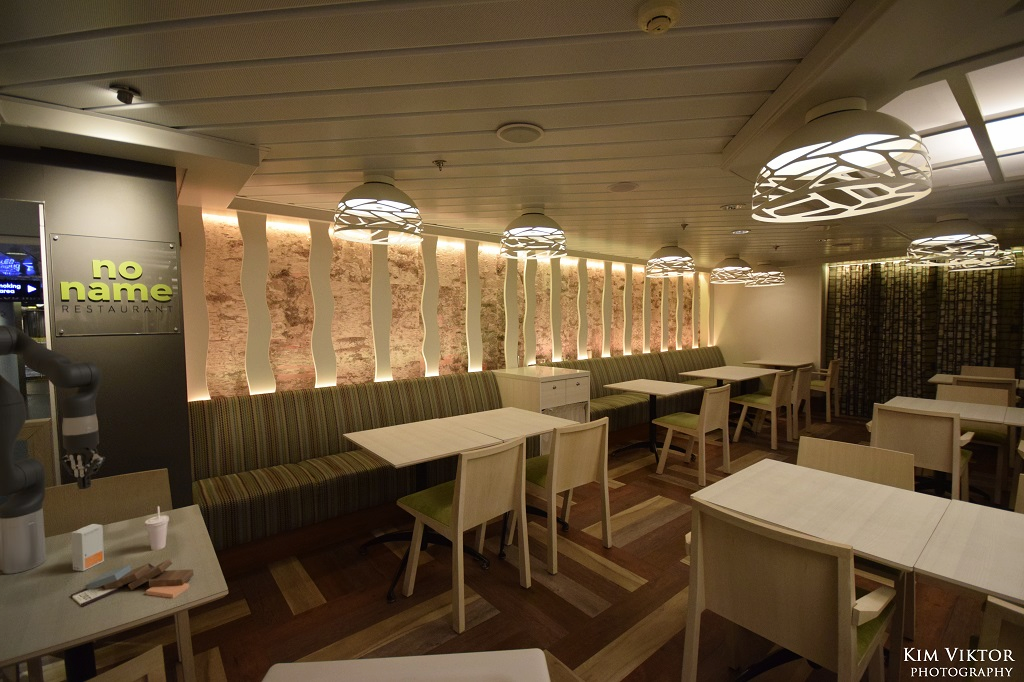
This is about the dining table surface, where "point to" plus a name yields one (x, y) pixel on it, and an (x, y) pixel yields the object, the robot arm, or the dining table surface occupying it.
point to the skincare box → (87, 547)
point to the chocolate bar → (97, 593)
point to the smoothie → (157, 530)
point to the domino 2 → (129, 577)
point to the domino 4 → (171, 578)
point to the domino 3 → (150, 574)
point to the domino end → (167, 590)
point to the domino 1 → (108, 577)
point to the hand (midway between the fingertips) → (84, 488)
